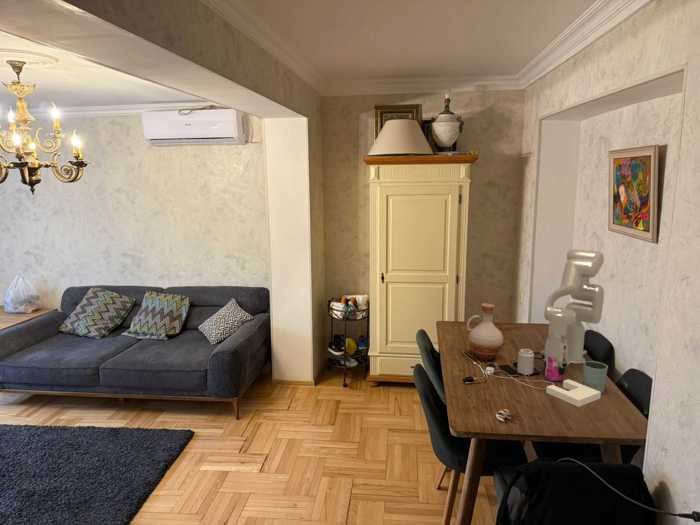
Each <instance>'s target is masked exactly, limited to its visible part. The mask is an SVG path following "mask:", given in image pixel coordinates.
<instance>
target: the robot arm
mask: <svg viewBox="0 0 700 525" xmlns="http://www.w3.org/2000/svg"><path fill="white" fill-rule="evenodd" d="M604 260H605V257H604V253H602V252H601V251H594V250H585V249H570V250H568V251H567V253H566V262H565V265H564V269H563V272H562V278H561V282H560V284H559V287H558V288H556V289H555V290H554V291H553V292H552V293H551V294H550V295H549V296H548V298H547V301H546V303H545V308H544V312H543V314H544V316H543V317H544V319H545V321H548V324H549V325H548V335H547V338H546V340H545V346H544V349H542V350H540V351H539V353H540V355H541V358H542V360H543V362H544V363H543V364H544V366H543V370H545V371H546V359H547V358H548V357H551V358H554V359H556V361H557V362H559V364H560V367H559V375H562V376H563V375H565V372H566V370H565V369H566V367H567V366H569V365H570V364H577V365H578V364H579V365H580V364H583V363H584V362H586V357H584V355H586V354H587V353H588V351H587V350H585V349H584V345H585V344H584V343H585V333H586V330H585V326H584V324H583V323H589V324H593V325H595V324H596V325H597V324H599V323H600V322H601V319H602V317H603V316H602V314H603V306H604V300H605V299H604V298H605V292H604V291H605V290H604V287H603V286H602V285H600V284H595V283H590V278H591V279H593V278H595V277H596V276H597V275H598V273H599V271H600V269H601V268H602V266H603V264H604ZM569 295H570V298H571V299H573V300H576V301H582V302H587V303H582V302H575V301H574V302H573V301H572V302H568V303H567V304H566V305H565V306H564V308H563V307H558V306H554V305H555V302H557V300H558V299H559V298H563V297H564V296H565V297H566V296H569ZM588 303H591V304H588ZM562 362H563V364H562Z"/></svg>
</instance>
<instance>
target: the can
mask: <svg viewBox="0 0 700 525" xmlns="http://www.w3.org/2000/svg"><path fill="white" fill-rule="evenodd" d="M534 362H535V353H534V351H533V350H532V349H530V348H521V349H520V350H519V351H518V354H517V366H516V367H517V368H516V369H517V370H516V371H517V373H518V374H519V373H521V374H524V375H523V376H526V375H528V376H531V375H532V374H533V373H534V364H535V363H534ZM521 374H520V375H521ZM530 374H531V375H530Z"/></svg>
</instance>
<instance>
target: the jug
mask: <svg viewBox="0 0 700 525" xmlns="http://www.w3.org/2000/svg"><path fill="white" fill-rule="evenodd" d="M494 308H495V305H494V304H492V303H489V302H488V303H487V302H484V303H481V309H480V311H481V314H482V315H480V314H475V315H473V316H471V317H470V318H469V319H467V322H466V329H467V331H468V332H469V336H468V340H469V346H470V348H471V351H472V352H473V354H474V355H475V356H476V357H477V358H478V359H479V360H481V361H491V360H493V359H494V358H495V357H497V355H499V353H500V351H501V349H502V347H503V344H504V336H503V334H502V331H501V330H499V328H498V327H496V326H495V324H494V323H493V321H492V317H493V314H494ZM476 318H479V319H480V320H481V322H480V323H479V324H478V325H476V326H475V327H474V328H470V323H471V322H472V321H473V320H474V319H476Z"/></svg>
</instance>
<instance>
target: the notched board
mask: <svg viewBox="0 0 700 525" xmlns="http://www.w3.org/2000/svg"><path fill="white" fill-rule="evenodd" d="M562 382H563V383H562V388H561V387H559V386H556V385H554V384H551V385H548V386H546V390H545V391H546V394H548V395H550V396H552V397H554V398H558V399H560V400H561V401H564V402H566V403H568V404H570V405H572V406H575V407H577V408H579V407H582V406H584V405H587V404H590V403H592V402H595V401H598V400H600V399H601V397H602V396H601V395H602V393H601V392H600V391H597V390H595V389H592V388H590V387H587V386H585V385H584V384H582V383H579V382H577V381H575V380H571V379H569V378H568V379H565V380H562ZM566 389H567V390H566Z"/></svg>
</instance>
